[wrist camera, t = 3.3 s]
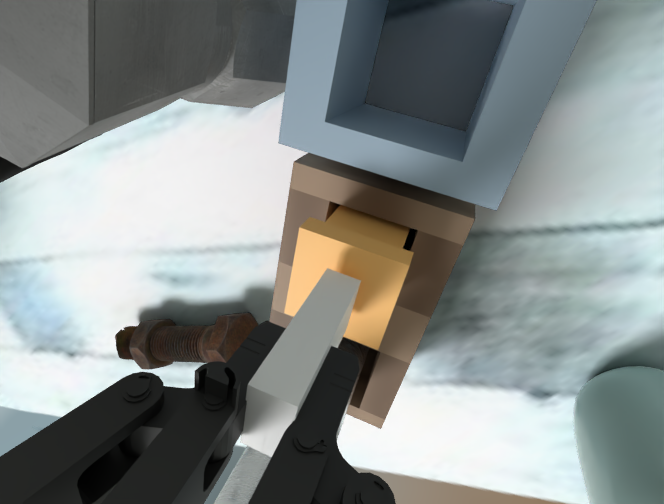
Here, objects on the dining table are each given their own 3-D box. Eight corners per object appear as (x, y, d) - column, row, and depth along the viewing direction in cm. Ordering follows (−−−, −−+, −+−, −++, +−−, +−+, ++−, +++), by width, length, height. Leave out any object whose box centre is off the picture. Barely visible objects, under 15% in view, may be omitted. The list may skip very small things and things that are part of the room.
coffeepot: (248, -172, 18) (-847, -1251, 3) (379, -15, 19) (43, -249, 4) (129, 78, 26) (-331, 114, 11) (226, 178, 28) (-74, 331, 12)
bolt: (150, 314, 41) (264, 310, 34) (151, 362, 40) (266, 367, 34) (96, 320, 36) (219, 317, 29) (96, 375, 35) (221, 384, 29)
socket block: (294, 325, 32) (260, 376, 27) (332, 138, 24) (293, 161, 19) (396, 366, 30) (380, 428, 25) (474, 181, 22) (474, 219, 17)
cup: (735, 413, 23) (881, 615, 15) (606, 447, 28) (664, 621, 19) (658, 327, 23) (768, 490, 14) (537, 376, 27) (566, 525, 18)
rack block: (327, 120, 23) (278, 143, 17) (363, -65, 19) (312, -119, 13) (490, 167, 22) (496, 210, 16) (574, -24, 17) (627, -65, 11)
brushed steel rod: (325, 321, 31) (209, 530, 17) (335, 282, 29) (212, 485, 15) (372, 339, 30) (289, 573, 17) (386, 300, 28) (304, 531, 14)
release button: (328, 251, 24) (284, 313, 18) (345, 181, 21) (299, 227, 16) (401, 277, 23) (377, 350, 18) (427, 207, 21) (409, 265, 15)
